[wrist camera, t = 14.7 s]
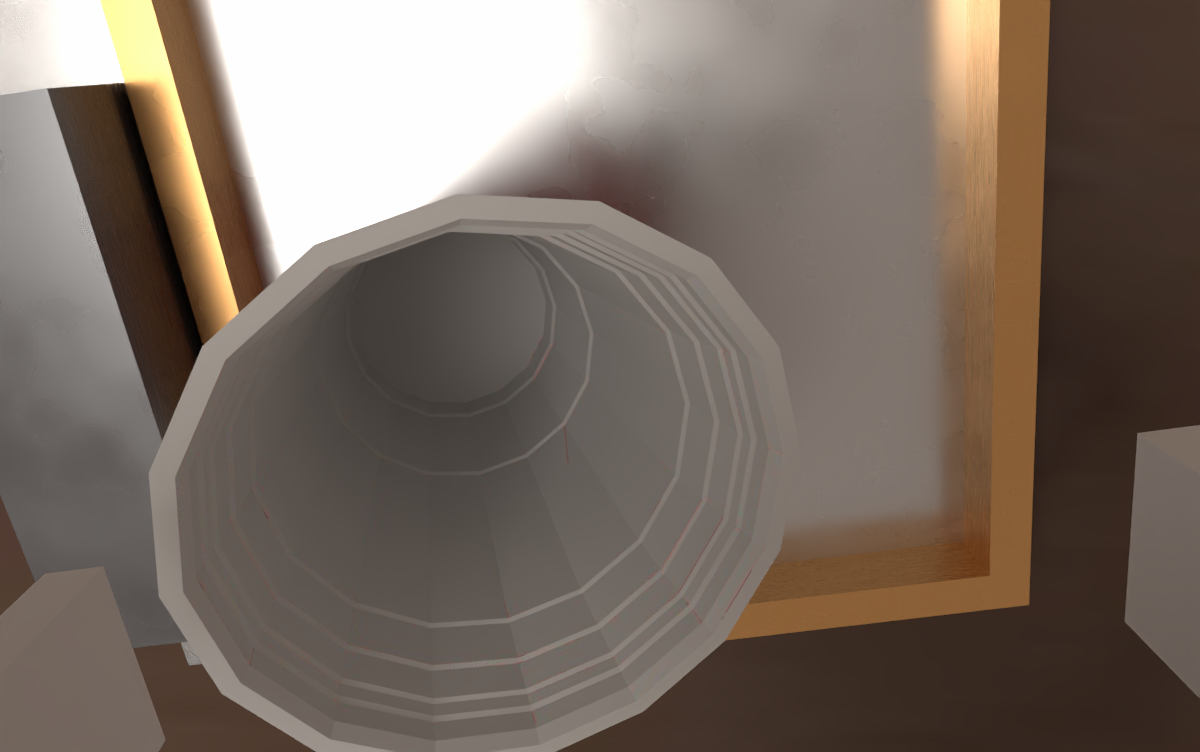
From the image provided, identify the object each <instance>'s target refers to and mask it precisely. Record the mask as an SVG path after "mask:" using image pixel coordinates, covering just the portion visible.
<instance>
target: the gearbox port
mask: <svg viewBox="0 0 1200 752" xmlns="http://www.w3.org/2000/svg"><path fill="white" fill-rule="evenodd" d="M1049 22H1050V0H0V495H1V498H2V500H3V503H4V505H5V508H6V510H7V513H8V515H9V518H10V520H11V523H12V525H13V528H14V530H15V533H16V535H17V538H18V540H19V543H20V545H21V547H22V550H23V552H24V555H25V557H26V560H27V562H28V565H29V567H30V570H31V572H32V575H33V577H34V580H35V582H36V581H37V580H39V579H40V578H41V577H42V576H43V575H44V574H46V573H54V572H62V571H70V570H78V569H85V568H93V567H101V566H103V567H104V570H105V573H106V576H107V578H108V581H109V584H110V587H111V590H112V592H113V595H114V598H115V601H116V603H117V606H118V609H119V612H120V615H121V617H122V620H123V623H124V626H125V628H126V631H127V634H128V637H129V640H130V642H131V645H132V648H138V647H146V646H154V645H163V644H171V643H180V642H181V644H182V647H183V650H184V653H185V656H186V659H187V662H188V664H189V665H194V664H202V663H201V661H200V659H199V658H198V656H197V655H196V653H195V652H194V650H193V649H192V647H191V646H190V644H189V642H188V641H187V639H186V638H185V636H184V635H183V633H182V632H181V630H180V629H179V627H178V626H177V624H176V622H175V621H174V619H173V618H172V616H171V615H170V613H169V612H168V610H167V609H166V607H165V605H164V604H163V602H162V601H161V599H160V598H159V593H158V581H157V569H156V556H155V544H154V532H153V520H152V508H151V496H150V484H149V471H150V469H151V467H152V464H153V462H154V459H155V457H156V455H157V452H158V450H159V448H160V445H161V443H162V441H163V438H164V436H165V433H166V431H167V429H168V426H169V424H170V422H171V419H172V417H173V414H174V412H175V410H176V407H177V405H178V403H179V400H180V398H181V396H182V393H183V391H184V388H185V386H186V384H187V381H188V379H189V377H190V374H191V372H192V369H193V367H194V365H195V362H196V360H197V358H198V355H199V353H200V350H201V348H202V346H203V345H204V344H205V343H206V342H207V341H209V340H210V339H211V338H212V337H213V336H214V335H215V334H216V333H217V332H218V331H220V330H221V329H222V328H223V327H224V326H225V325H226V324H227V323H228V322H229V321H231V320H232V319H233V318H234V317H235V316H236V315H237V314H238V313H239V312H240V311H242V310H243V309H244V308H245V307H246V306H247V305H248V304H249V303H250V302H251V301H253V300H254V299H255V298H256V297H257V296H258V295H259V294H260V293H261V292H262V291H263V290H265V289H266V288H267V287H268V286H269V285H270V284H271V283H272V282H273V281H274V280H276V279H277V278H278V277H279V276H280V275H281V274H282V273H283V272H284V271H285V270H287V269H288V268H289V267H290V266H291V265H292V264H293V263H294V262H295V261H296V260H298V259H299V258H300V257H301V256H302V255H303V254H304V253H305V252H306V251H307V250H309V249H310V248H311V247H312V246H313V245H315V244H317V243H320V242H323V241H326V240H329V239H332V238H334V237H337V236H340V235H343V234H346V233H348V232H351V231H354V230H357V229H360V228H362V227H365V226H368V225H371V224H374V223H377V222H379V221H382V220H385V219H388V218H391V217H393V216H396V215H399V214H402V213H405V212H407V211H410V210H413V209H416V208H419V207H422V206H424V205H427V204H430V203H433V202H436V201H438V200H441V199H444V198H447V197H450V196H452V195H455V194H471V195H490V196H510V197H529V198H548V199H567V200H587V201H600V202H602V203H604V204H606V205H608V206H610V207H612V208H614V209H616V210H618V211H620V212H622V213H624V214H625V215H627V216H629V217H631V218H633V219H635V220H637V221H639V222H641V223H643V224H645V225H647V226H649V227H651V228H653V229H655V230H657V231H659V232H661V233H663V234H665V235H667V236H669V237H671V238H673V239H675V240H677V241H679V242H681V243H683V244H685V245H687V246H688V247H690V248H692V249H694V250H696V251H698V252H700V253H702V254H704V255H706V256H708V257H710V258H712V260H713V261H714V262H715V264H716V265H717V266H718V267H719V269H720V270H721V271H722V273H723V274H724V275H725V277H726V278H727V279H728V281H729V282H730V283H731V284H732V286H733V287H734V288H735V290H736V291H737V292H738V294H739V295H740V296H741V298H742V299H743V300H744V301H745V303H746V304H747V305H748V307H749V308H750V309H751V311H752V312H753V313H754V315H755V316H756V317H757V318H758V320H759V321H760V322H761V324H762V325H763V326H764V328H765V329H766V330H767V332H768V333H769V334H770V335H771V337H772V338H773V339H774V341H775V342H776V343H777V345H778V346H779V348H780V353H781V358H782V363H783V367H784V372H785V377H786V382H787V386H788V391H789V396H790V401H791V405H792V410H793V415H794V420H795V425H796V429H797V434H798V439H799V444H800V448H801V450H800V455H799V460H798V465H797V470H796V475H795V480H794V485H793V490H792V495H791V500H790V505H789V509H788V514H787V519H786V524H785V529H784V534H783V539H782V544H781V549H780V552H779V553H778V555H777V557H776V558H775V560H774V561H773V563H772V565H771V566H770V568H769V570H768V571H767V573H766V575H765V576H764V578H763V579H762V581H761V583H760V584H759V586H758V588H757V589H756V591H755V593H754V594H753V596H752V597H751V599H750V601H749V602H748V604H747V606H746V607H745V609H744V611H743V612H742V614H741V615H740V617H739V619H738V620H737V622H736V624H735V625H734V627H733V629H732V630H731V632H730V634H729V635H728V637H727V638H726V640H733V639H741V638H750V637H758V636H767V635H775V634H784V633H793V632H801V631H810V630H818V629H827V628H835V627H844V626H853V625H861V624H870V623H878V622H887V621H895V620H904V619H912V618H921V617H930V616H938V615H947V614H955V613H964V612H972V611H981V610H990V609H998V608H1007V607H1015V606H1024V605H1029V591H1030V562H1031V534H1032V505H1033V477H1034V448H1035V420H1036V392H1037V363H1038V335H1039V306H1040V278H1041V249H1042V221H1043V193H1044V164H1045V136H1046V107H1047V79H1048V50H1049Z"/></svg>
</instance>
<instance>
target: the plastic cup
mask: <svg viewBox="0 0 1200 752" xmlns="http://www.w3.org/2000/svg"><path fill="white" fill-rule="evenodd" d="M800 450H801V448H800V444H799V439H798V434H797V429H796V425H795V420H794V415H793V410H792V405H791V401H790V396H789V391H788V386H787V382H786V377H785V372H784V367H783V363H782V358H781V353H780V348H779V346H778V345H777V343H776V342H775V341H774V339H773V338H772V337H771V335H770V334H769V333H768V332H767V330H766V329H765V328H764V326H763V325H762V324H761V322H760V321H759V320H758V318H757V317H756V316H755V315H754V313H753V312H752V311H751V309H750V308H749V307H748V305H747V304H746V303H745V301H744V300H743V299H742V298H741V296H740V295H739V294H738V292H737V291H736V290H735V288H734V287H733V286H732V284H731V283H730V282H729V281H728V279H727V278H726V277H725V275H724V274H723V273H722V271H721V270H720V269H719V267H718V266H717V265H716V264H715V262H714V261H713V260H712V258H710V257H708V256H706V255H704V254H702V253H700V252H698V251H696V250H694V249H692V248H690V247H688V246H687V245H685V244H683V243H681V242H679V241H677V240H675V239H673V238H671V237H669V236H667V235H665V234H663V233H661V232H659V231H657V230H655V229H653V228H651V227H649V226H647V225H645V224H643V223H641V222H639V221H637V220H635V219H633V218H631V217H629V216H627V215H625V214H624V213H622V212H620V211H618V210H616V209H614V208H612V207H610V206H608V205H606V204H604V203H602V202H600V201H587V200H567V199H548V198H529V197H510V196H490V195H471V194H455V195H452V196H450V197H447V198H444V199H441V200H438V201H436V202H433V203H430V204H427V205H424V206H422V207H419V208H416V209H413V210H410V211H407V212H405V213H402V214H399V215H396V216H393V217H391V218H388V219H385V220H382V221H379V222H377V223H374V224H371V225H368V226H365V227H362V228H360V229H357V230H354V231H351V232H348V233H346V234H343V235H340V236H337V237H334V238H332V239H329V240H326V241H323V242H320V243H317V244H315V245H313V246H312V247H311V248H310V249H309V250H307V251H306V252H305V253H304V254H303V255H302V256H301V257H300V258H299V259H298V260H296V261H295V262H294V263H293V264H292V265H291V266H290V267H289V268H288V269H287V270H285V271H284V272H283V273H282V274H281V275H280V276H279V277H278V278H277V279H276V280H274V281H273V282H272V283H271V284H270V285H269V286H268V287H267V288H266V289H265V290H263V291H262V292H261V293H260V294H259V295H258V296H257V297H256V298H255V299H254V300H253V301H251V302H250V303H249V304H248V305H247V306H246V307H245V308H244V309H243V310H242V311H240V312H239V313H238V314H237V315H236V316H235V317H234V318H233V319H232V320H231V321H229V322H228V323H227V324H226V325H225V326H224V327H223V328H222V329H221V330H220V331H218V332H217V333H216V334H215V335H214V336H213V337H212V338H211V339H210V340H209V341H207V342H206V343H205V344H204V345H203V346H202V348H201V350H200V353H199V355H198V358H197V360H196V362H195V365H194V367H193V369H192V372H191V374H190V377H189V379H188V381H187V384H186V386H185V388H184V391H183V393H182V396H181V398H180V400H179V403H178V405H177V407H176V410H175V412H174V414H173V417H172V419H171V422H170V424H169V426H168V429H167V431H166V433H165V436H164V438H163V441H162V443H161V445H160V448H159V450H158V452H157V455H156V457H155V459H154V462H153V464H152V467H151V469H150V471H149V484H150V496H151V508H152V520H153V532H154V544H155V556H156V569H157V581H158V593H159V598H160V599H161V601H162V602H163V604H164V605H165V607H166V609H167V610H168V612H169V613H170V615H171V616H172V618H173V619H174V621H175V622H176V624H177V626H178V627H179V629H180V630H181V632H182V633H183V635H184V636H185V638H186V639H187V641H188V642H189V644H190V646H191V647H192V649H193V650H194V652H195V653H196V655H197V656H198V658H199V659H200V661H201V663H202V664H203V666H204V667H205V669H206V670H207V672H208V673H209V675H210V676H211V678H212V679H213V681H214V683H215V684H216V686H217V687H218V689H219V690H220V692H221V693H222V694H223V695H225V696H226V697H228V698H230V699H231V700H233V701H234V702H236V703H238V704H239V705H241V706H243V707H244V708H246V709H247V710H249V711H251V712H252V713H254V714H256V715H257V716H259V717H260V718H262V719H264V720H265V721H267V722H269V723H270V724H272V725H273V726H275V727H277V728H278V729H280V730H282V731H283V732H285V733H286V734H288V735H290V736H291V737H293V738H295V739H296V740H298V741H299V742H301V743H303V744H304V745H306V746H308V747H309V748H311V749H312V750H314V751H316V752H556V751H558V750H560V749H562V748H564V747H567V746H569V745H571V744H573V743H575V742H578V741H580V740H582V739H584V738H586V737H589V736H591V735H593V734H595V733H597V732H600V731H602V730H604V729H606V728H608V727H610V726H613V725H615V724H617V723H619V722H621V721H624V720H626V719H628V718H630V717H632V716H635V715H637V714H639V713H641V712H643V711H645V710H646V709H647V708H648V707H649V706H650V705H651V704H653V703H654V702H655V701H656V700H657V699H658V698H659V697H661V696H662V695H663V694H664V693H665V692H666V691H668V690H669V689H670V688H671V687H672V686H673V685H674V684H676V683H677V682H678V681H679V680H680V679H681V678H683V677H684V676H685V675H686V674H687V673H688V672H689V671H691V670H692V669H693V668H694V667H695V666H696V665H697V664H699V663H700V662H701V661H702V660H703V659H704V658H706V657H707V656H708V655H709V654H710V653H711V652H712V651H714V650H715V649H716V648H717V647H718V646H719V645H721V644H722V643H723V642H724V641H725V640H726V638H727V637H728V635H729V634H730V632H731V630H732V629H733V627H734V625H735V624H736V622H737V620H738V619H739V617H740V615H741V614H742V612H743V611H744V609H745V607H746V606H747V604H748V602H749V601H750V599H751V597H752V596H753V594H754V593H755V591H756V589H757V588H758V586H759V584H760V583H761V581H762V579H763V578H764V576H765V575H766V573H767V571H768V570H769V568H770V566H771V565H772V563H773V561H774V560H775V558H776V557H777V555H778V553H779V552H780V549H781V544H782V539H783V534H784V529H785V524H786V519H787V514H788V509H789V505H790V500H791V495H792V490H793V485H794V480H795V475H796V470H797V465H798V460H799V455H800Z"/></svg>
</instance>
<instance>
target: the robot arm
mask: <svg viewBox="0 0 1200 752" xmlns="http://www.w3.org/2000/svg"><path fill="white" fill-rule="evenodd" d="M1125 622H1126V623H1127V624H1128V625H1129V626H1130V628H1131V629H1132V630H1133V631H1134V632H1135V633H1136V634H1137V635H1138V636H1139V637H1140V638H1141V639H1142V640H1143V641H1144V642H1145V643H1146V644H1147V645H1148V646H1149V647H1150V648H1151V649H1152V650H1153V651H1154V652H1155V653H1156V654H1157V655H1158V656H1159V657H1160V658H1161V659H1162V660H1163V661H1164V662H1165V663H1166V664H1167V665H1168V667H1169V668H1170V669H1171V670H1172V671H1173V672H1174V673H1175V674H1176V675H1177V676H1178V677H1179V678H1180V679H1181V680H1182V681H1183V682H1184V683H1185V684H1186V685H1187V686H1188V687H1189V688H1190V689H1191V690H1192V691H1193V692H1194V693H1195V694H1196V695H1197V696H1198V697H1199V698H1200V425H1197V426H1189V427H1181V428H1174V429H1166V430H1158V431H1150V432H1142V433H1137V448H1136V462H1135V477H1134V492H1133V506H1132V521H1131V536H1130V550H1129V565H1128V580H1127V594H1126V609H1125ZM164 742H165V737H164V734H163V731H162V729H161V726H160V723H159V720H158V718H157V715H156V712H155V709H154V706H153V704H152V701H151V698H150V695H149V693H148V690H147V687H146V684H145V681H144V679H143V676H142V673H141V670H140V667H139V665H138V662H137V659H136V656H135V654H134V651H133V648H132V645H131V642H130V640H129V637H128V634H127V631H126V628H125V626H124V623H123V620H122V617H121V615H120V612H119V609H118V606H117V603H116V601H115V598H114V595H113V592H112V590H111V587H110V584H109V581H108V578H107V576H106V573H105V570H104V567H103V566H101V567H93V568H85V569H78V570H70V571H62V572H54V573H46V574H44V575H43V576H42V577H41V578H40V579H39V580H37V581H36V582H35V583H34V584H33V585H32V586H31V587H30V588H29V589H28V590H27V591H26V592H25V593H24V594H23V595H22V596H21V597H20V598H19V599H17V600H16V601H15V602H14V603H13V604H12V605H11V606H10V607H9V608H8V609H7V610H6V611H5V612H4V613H3V614H2V615H1V616H0V752H158V751H159V750H160V748H161V747H162V745H163V743H164Z"/></svg>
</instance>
